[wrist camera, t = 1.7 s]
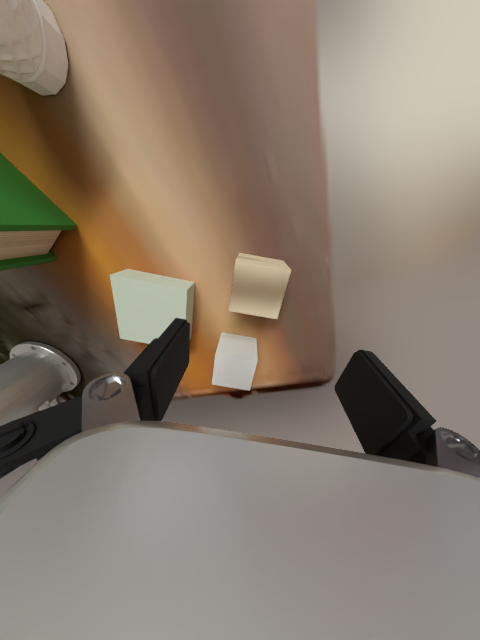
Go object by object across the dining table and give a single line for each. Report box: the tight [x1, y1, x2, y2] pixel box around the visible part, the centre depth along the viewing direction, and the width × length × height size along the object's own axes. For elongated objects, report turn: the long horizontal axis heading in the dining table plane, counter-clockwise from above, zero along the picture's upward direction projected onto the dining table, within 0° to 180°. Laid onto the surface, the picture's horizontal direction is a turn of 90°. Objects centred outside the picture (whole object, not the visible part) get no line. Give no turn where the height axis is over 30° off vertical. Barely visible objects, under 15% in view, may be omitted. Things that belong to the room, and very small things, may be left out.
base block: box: [110, 269, 195, 344], centre depth 27 cm, size 10×10×4 cm
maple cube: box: [229, 253, 291, 319], centre depth 23 cm, size 6×6×6 cm
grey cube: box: [212, 332, 258, 391], centre depth 29 cm, size 6×6×6 cm
